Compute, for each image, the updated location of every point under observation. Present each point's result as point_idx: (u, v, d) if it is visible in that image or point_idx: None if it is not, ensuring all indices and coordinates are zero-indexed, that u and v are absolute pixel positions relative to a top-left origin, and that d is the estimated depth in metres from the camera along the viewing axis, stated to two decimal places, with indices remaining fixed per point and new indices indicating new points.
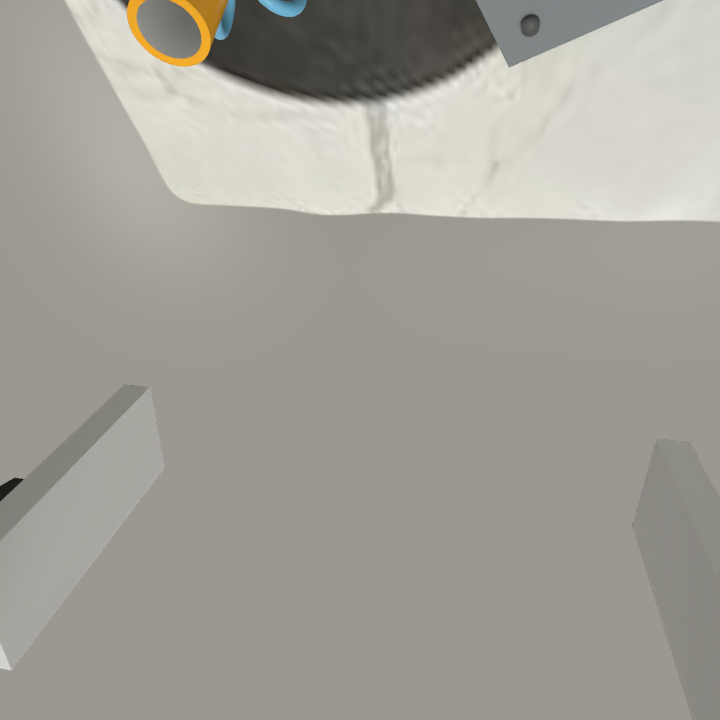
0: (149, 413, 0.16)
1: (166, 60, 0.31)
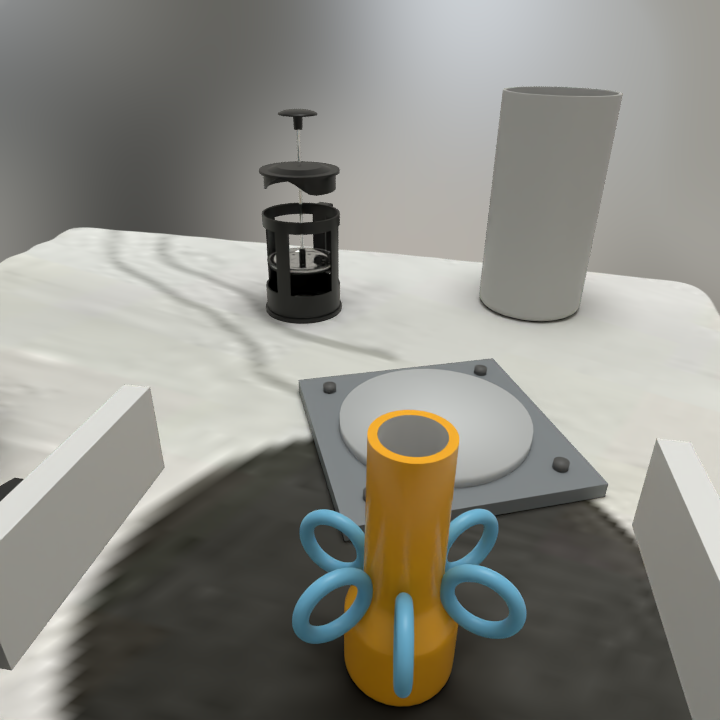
0: (149, 413, 0.16)
1: (449, 452, 0.25)
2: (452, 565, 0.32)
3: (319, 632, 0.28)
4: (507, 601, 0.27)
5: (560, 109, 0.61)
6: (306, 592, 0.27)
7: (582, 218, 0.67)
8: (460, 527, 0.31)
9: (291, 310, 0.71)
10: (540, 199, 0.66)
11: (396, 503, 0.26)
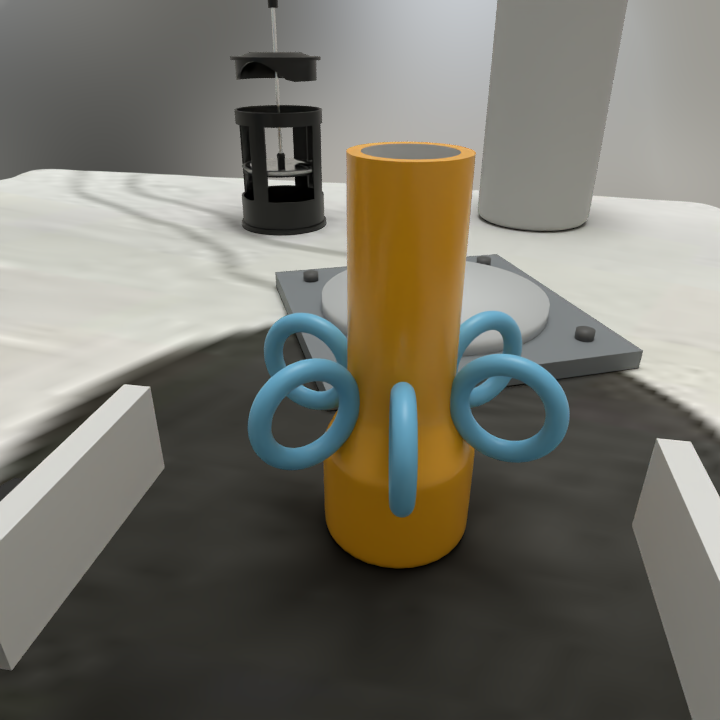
0: (149, 413, 0.16)
1: (462, 158, 0.18)
2: None
3: (287, 452, 0.21)
4: (544, 395, 0.20)
5: None
6: (266, 384, 0.20)
7: (592, 106, 0.60)
8: (474, 327, 0.23)
9: (269, 220, 0.63)
10: (545, 83, 0.59)
11: (389, 237, 0.18)
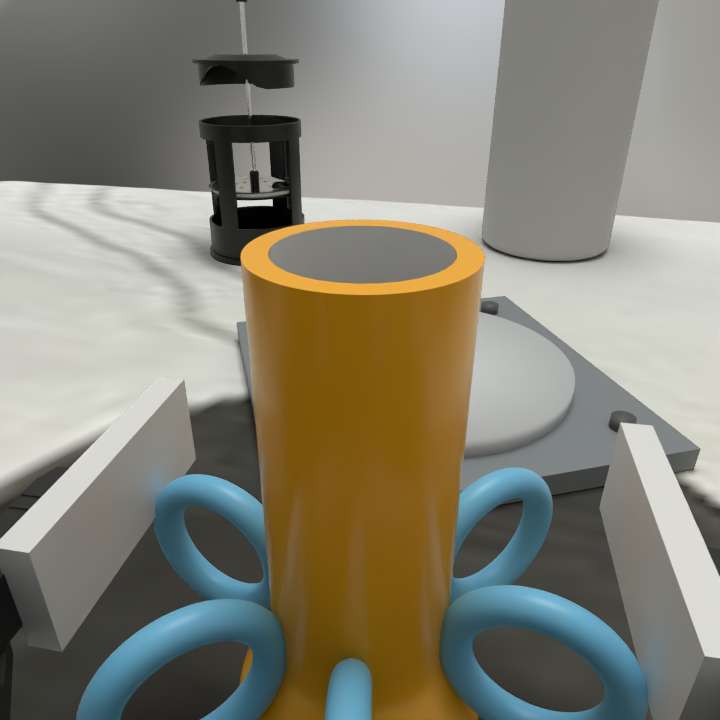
0: (182, 405, 0.17)
1: (459, 276, 0.09)
2: (463, 585, 0.16)
3: None
4: (605, 675, 0.11)
5: None
6: (104, 666, 0.11)
7: (616, 118, 0.51)
8: (480, 504, 0.14)
9: (240, 249, 0.55)
10: (562, 91, 0.50)
11: (318, 426, 0.09)
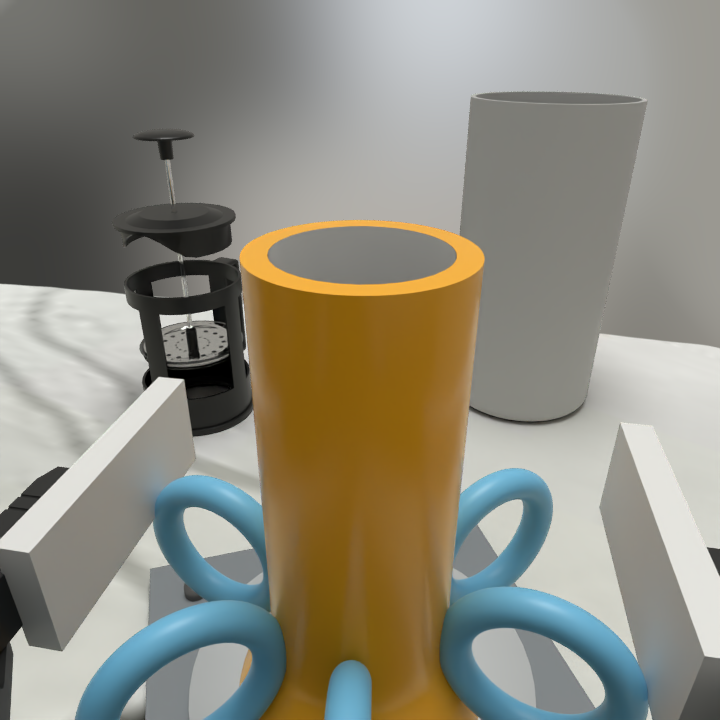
0: (182, 405, 0.17)
1: (459, 277, 0.09)
2: (463, 586, 0.16)
3: None
4: (606, 677, 0.11)
5: (557, 124, 0.40)
6: (103, 668, 0.11)
7: (591, 281, 0.46)
8: (480, 505, 0.14)
9: None
10: (529, 256, 0.44)
11: (318, 426, 0.09)
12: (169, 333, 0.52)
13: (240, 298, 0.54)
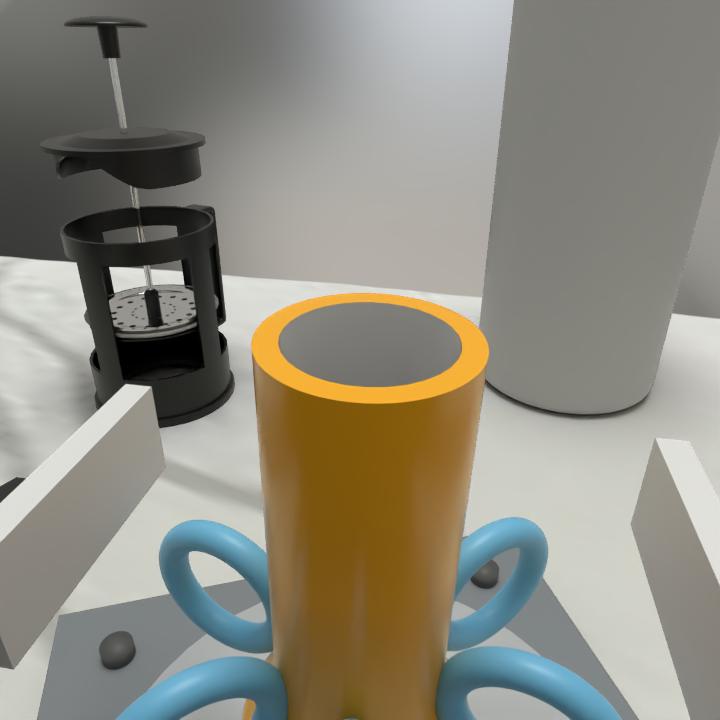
0: (150, 413, 0.16)
1: (464, 378, 0.09)
2: (459, 628, 0.16)
3: None
4: None
5: None
6: None
7: (674, 228, 0.34)
8: (477, 557, 0.15)
9: None
10: (594, 191, 0.33)
11: (325, 514, 0.10)
12: (126, 298, 0.41)
13: (218, 257, 0.43)
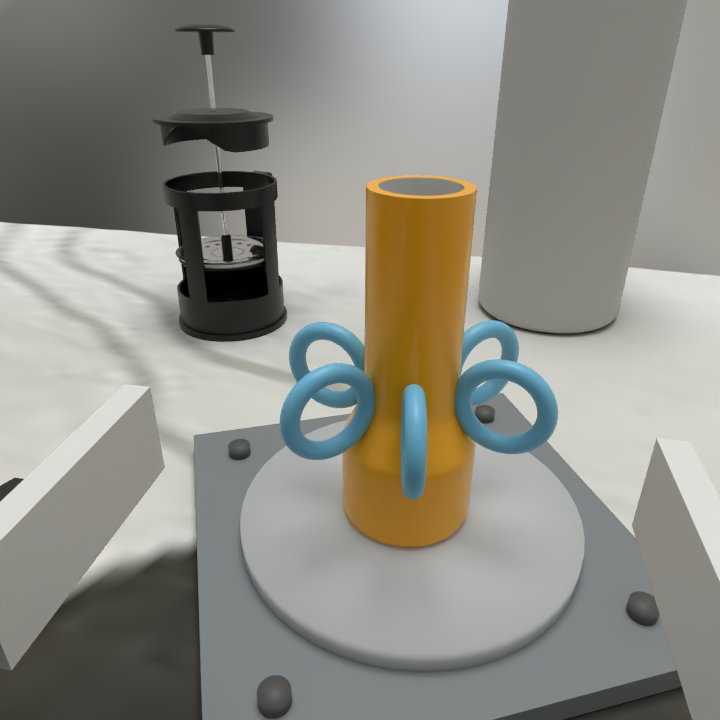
0: (149, 413, 0.16)
1: (465, 193, 0.21)
2: None
3: (312, 444, 0.24)
4: (535, 395, 0.23)
5: (599, 12, 0.40)
6: (296, 385, 0.23)
7: (628, 183, 0.46)
8: (476, 335, 0.26)
9: (210, 322, 0.49)
10: (567, 154, 0.44)
11: (403, 261, 0.21)
12: (203, 244, 0.53)
13: None
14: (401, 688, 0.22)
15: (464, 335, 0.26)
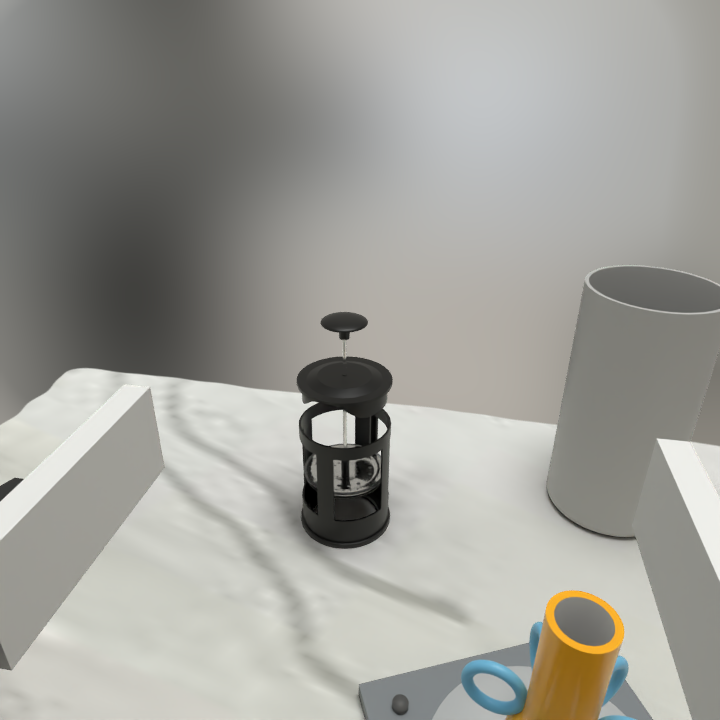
0: (149, 413, 0.16)
1: (619, 640, 0.31)
2: None
3: None
4: None
5: (666, 327, 0.50)
6: None
7: (682, 434, 0.56)
8: None
9: (334, 534, 0.60)
10: (634, 417, 0.55)
11: (575, 679, 0.32)
12: None
13: (377, 425, 0.65)
14: None
15: None
